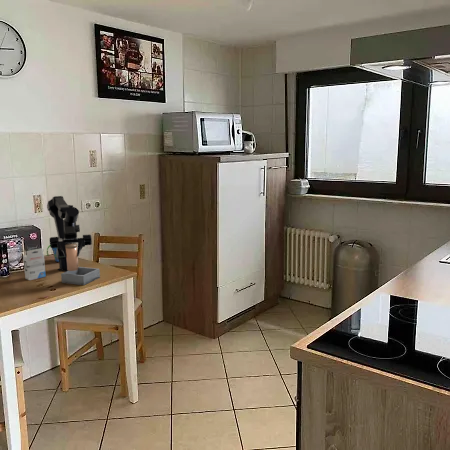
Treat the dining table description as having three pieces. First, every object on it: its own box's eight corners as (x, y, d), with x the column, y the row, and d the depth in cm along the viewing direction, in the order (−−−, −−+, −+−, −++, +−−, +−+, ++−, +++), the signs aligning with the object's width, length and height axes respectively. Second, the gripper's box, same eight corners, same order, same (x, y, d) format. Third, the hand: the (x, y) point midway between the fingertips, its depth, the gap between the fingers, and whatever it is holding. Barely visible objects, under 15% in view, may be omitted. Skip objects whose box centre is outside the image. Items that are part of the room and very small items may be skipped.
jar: (64, 270, 211) (62, 245, 209) (70, 267, 216) (68, 243, 214) (75, 271, 210) (73, 246, 208) (80, 268, 215) (79, 243, 213)
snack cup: (46, 264, 249) (44, 245, 248) (49, 259, 259) (47, 241, 258) (75, 262, 253) (74, 244, 251) (77, 257, 263) (76, 240, 261)
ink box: (41, 274, 229) (39, 246, 226) (46, 276, 226) (43, 247, 223) (24, 278, 223) (21, 249, 220) (28, 280, 220) (26, 251, 217)
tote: (61, 282, 215) (61, 273, 215) (78, 275, 227) (78, 266, 226) (84, 285, 211) (83, 276, 210) (100, 277, 223) (99, 268, 222)
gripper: (48, 220, 209) (49, 249, 201) (90, 217, 215) (92, 245, 207) (50, 233, 218) (51, 261, 210) (90, 230, 224) (92, 258, 216)
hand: (71, 256), depth 211 cm, fingers closed on jar, 5 cm apart
